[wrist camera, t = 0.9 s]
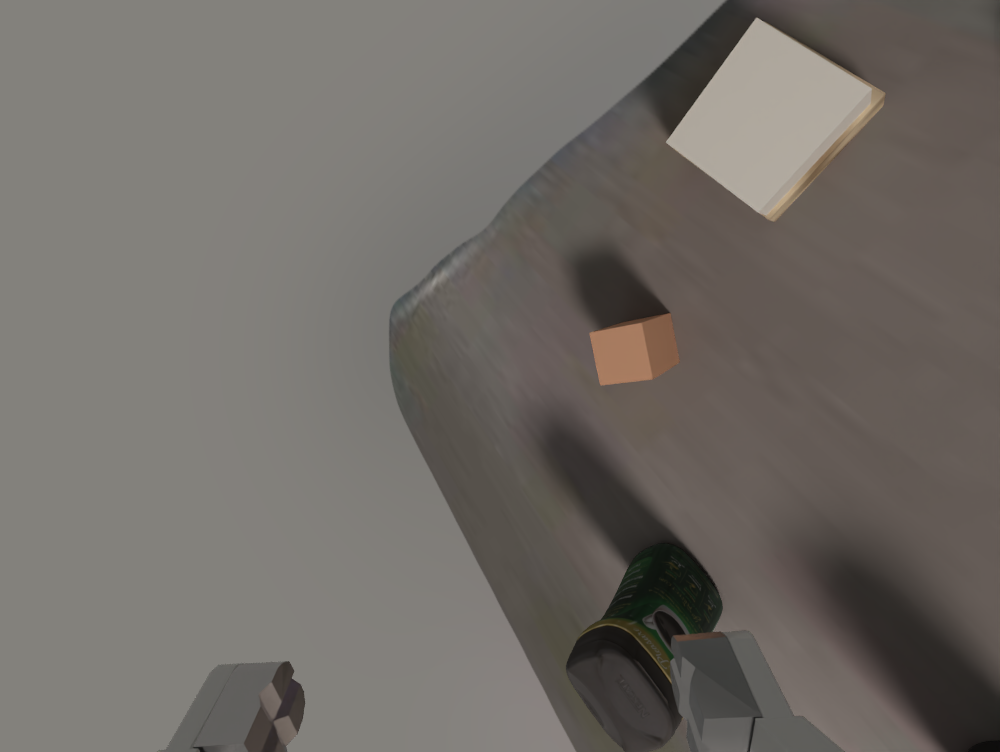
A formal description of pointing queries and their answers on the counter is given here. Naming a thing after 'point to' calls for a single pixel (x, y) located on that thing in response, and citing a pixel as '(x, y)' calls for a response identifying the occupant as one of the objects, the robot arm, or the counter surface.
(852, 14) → the counter surface
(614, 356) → the pillar
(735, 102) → the tower top
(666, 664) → the coffee jar
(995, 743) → the travel mug
